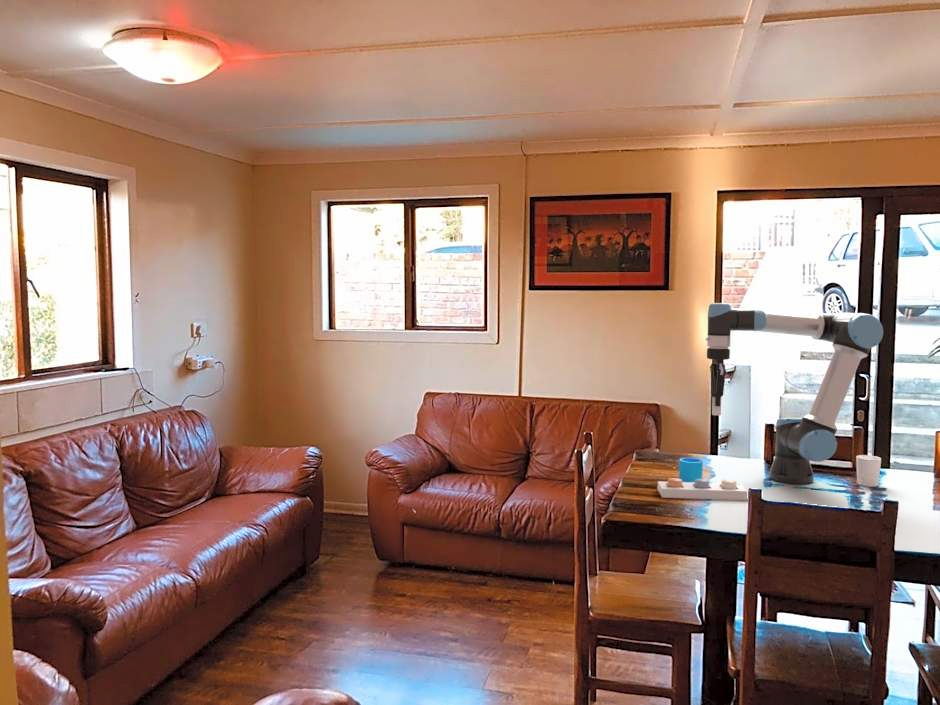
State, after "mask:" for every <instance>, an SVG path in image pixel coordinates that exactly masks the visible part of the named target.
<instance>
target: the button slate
mask: <svg viewBox="0 0 940 705" xmlns="http://www.w3.org/2000/svg"><path fill="white" fill-rule="evenodd" d="M709 483H710V480H709V479H705V478H702V479H695V483H694V487H695V488H709Z"/></svg>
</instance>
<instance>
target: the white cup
mask: <svg viewBox="0 0 940 705" xmlns="http://www.w3.org/2000/svg"><path fill="white" fill-rule="evenodd" d="M855 461H856V464H855V465H856V484H857V485H859V486H862V487H871V488H873V487H874V488H876V487H878V486H879V481H880V480H879V479H880V474H881V473H880V472H881V467H882V466H881V464H882V457H880V456H876V455H870V454H869V455H868V454H859V455H856V459H855Z"/></svg>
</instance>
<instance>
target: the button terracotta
mask: <svg viewBox="0 0 940 705" xmlns="http://www.w3.org/2000/svg"><path fill="white" fill-rule="evenodd" d="M667 482H668V487H676V488H682V479H679V477H669V478H667Z"/></svg>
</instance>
